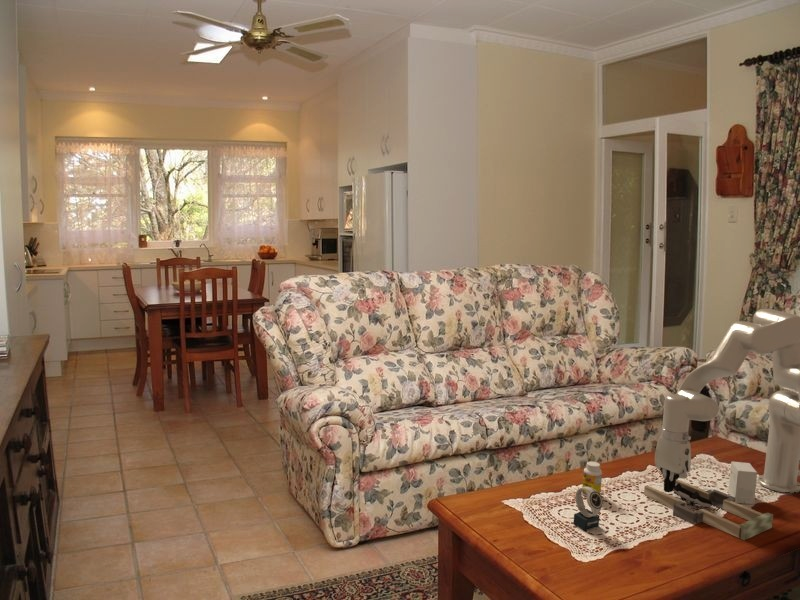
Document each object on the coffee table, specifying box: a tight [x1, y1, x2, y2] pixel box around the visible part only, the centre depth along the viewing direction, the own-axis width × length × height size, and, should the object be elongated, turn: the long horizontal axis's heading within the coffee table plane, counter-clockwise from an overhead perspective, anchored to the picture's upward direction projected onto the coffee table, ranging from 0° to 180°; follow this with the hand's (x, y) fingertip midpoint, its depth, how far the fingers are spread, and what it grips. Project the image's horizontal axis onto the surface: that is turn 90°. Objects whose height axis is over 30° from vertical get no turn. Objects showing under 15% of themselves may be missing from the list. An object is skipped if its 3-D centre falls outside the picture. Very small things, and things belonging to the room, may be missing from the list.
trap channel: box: [643, 478, 774, 541], centre depth 208 cm, size 21×33×4 cm, turn 34°
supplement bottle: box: [581, 461, 603, 498], centre depth 217 cm, size 6×6×10 cm
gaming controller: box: [673, 483, 713, 508], centre depth 214 cm, size 11×4×7 cm
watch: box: [573, 486, 604, 532], centre depth 197 cm, size 6×8×11 cm
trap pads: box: [711, 500, 723, 510], centre depth 209 cm, size 18×5×1 cm, turn 124°
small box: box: [727, 461, 758, 505], centre depth 217 cm, size 8×6×10 cm
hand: (668, 490), depth 218 cm, fingers closed
